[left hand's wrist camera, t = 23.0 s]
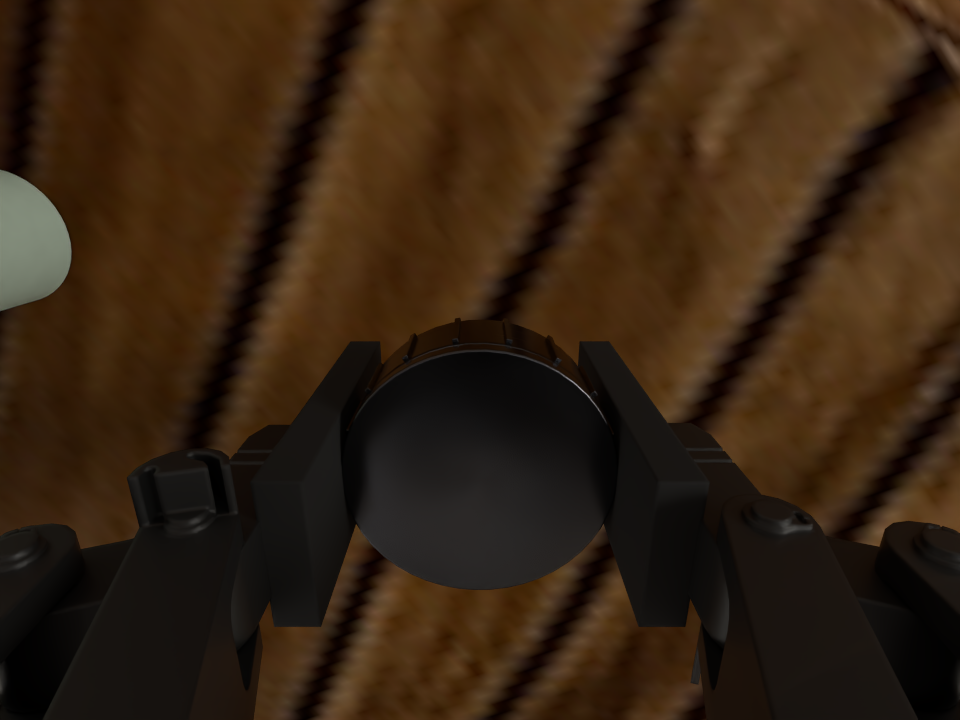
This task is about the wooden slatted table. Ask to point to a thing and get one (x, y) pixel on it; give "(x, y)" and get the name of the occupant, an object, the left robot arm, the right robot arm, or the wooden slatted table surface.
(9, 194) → the pale green cylinder
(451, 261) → the wooden slatted table surface
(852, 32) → the wooden slatted table surface
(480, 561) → the lid
